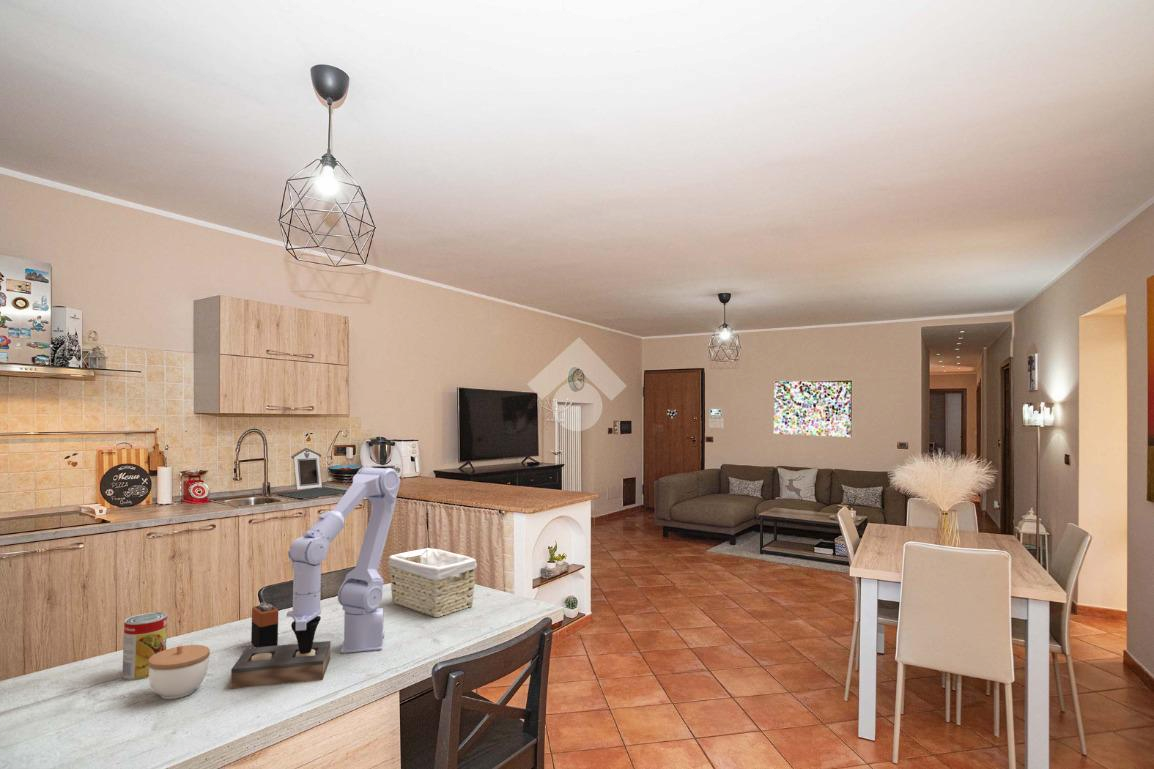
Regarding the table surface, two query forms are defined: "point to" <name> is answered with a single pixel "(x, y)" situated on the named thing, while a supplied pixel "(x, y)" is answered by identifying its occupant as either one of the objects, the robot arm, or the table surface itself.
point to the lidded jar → (178, 670)
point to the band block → (280, 665)
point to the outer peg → (261, 657)
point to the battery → (264, 625)
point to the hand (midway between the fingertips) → (305, 652)
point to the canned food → (142, 642)
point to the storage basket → (432, 581)
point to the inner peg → (306, 653)
